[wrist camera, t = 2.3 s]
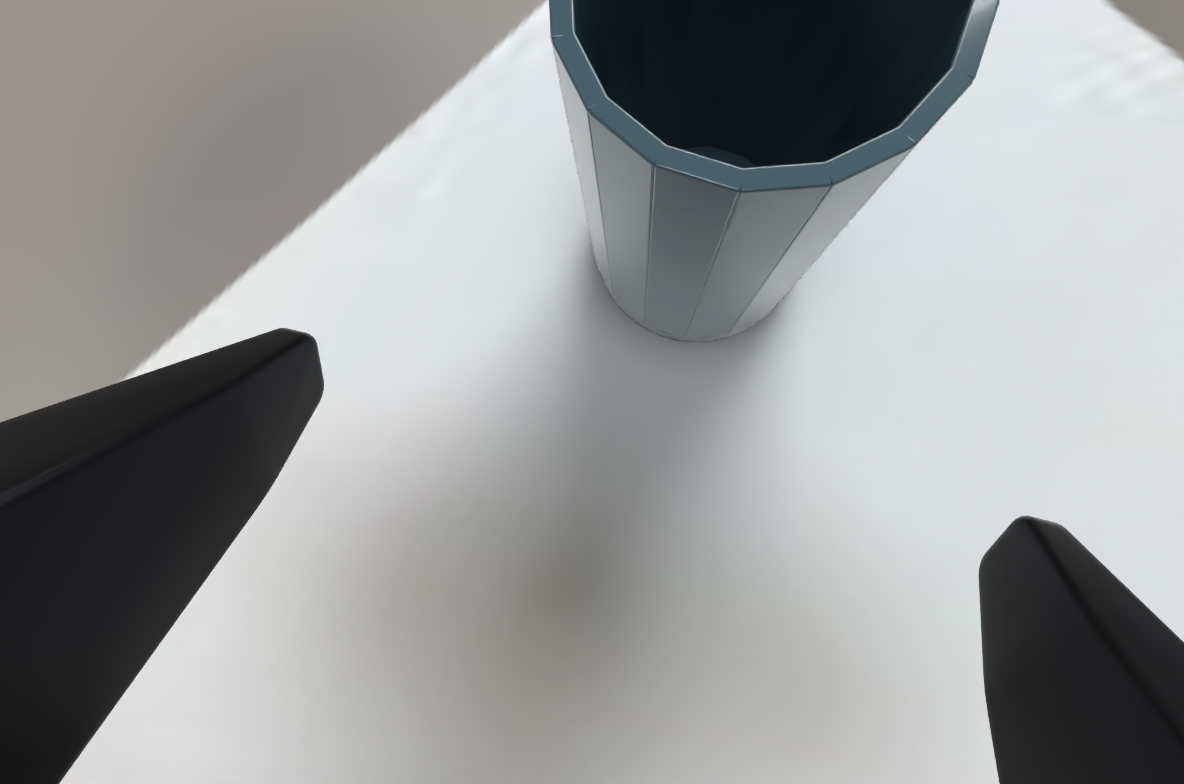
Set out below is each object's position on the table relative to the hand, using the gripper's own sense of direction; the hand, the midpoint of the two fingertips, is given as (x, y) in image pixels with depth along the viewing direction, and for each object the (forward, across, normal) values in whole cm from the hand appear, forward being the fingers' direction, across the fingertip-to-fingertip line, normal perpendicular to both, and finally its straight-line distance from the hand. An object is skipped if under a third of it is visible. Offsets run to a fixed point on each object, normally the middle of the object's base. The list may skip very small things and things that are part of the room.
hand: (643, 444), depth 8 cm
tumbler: (+14, 0, +4) cm, 15 cm away
